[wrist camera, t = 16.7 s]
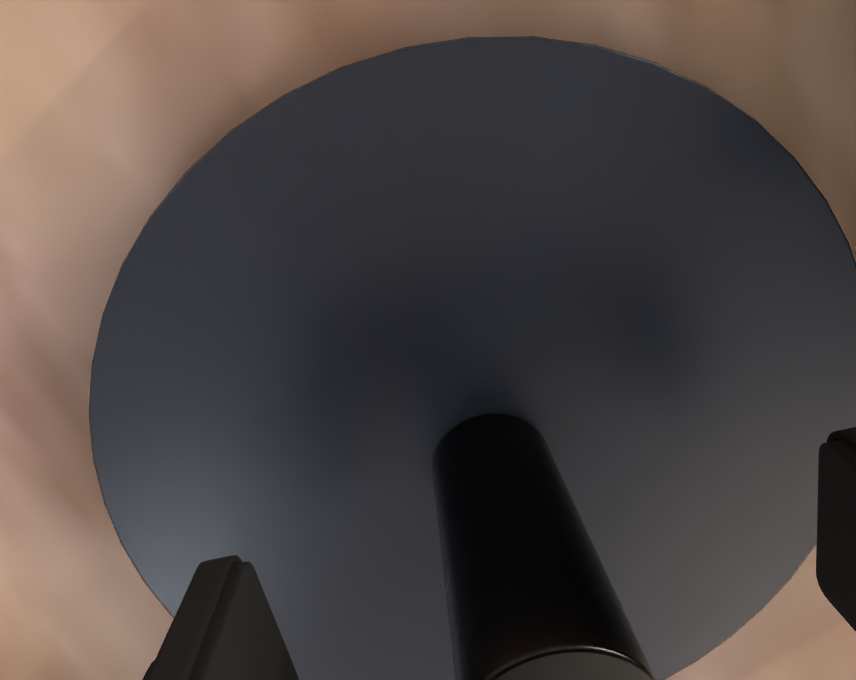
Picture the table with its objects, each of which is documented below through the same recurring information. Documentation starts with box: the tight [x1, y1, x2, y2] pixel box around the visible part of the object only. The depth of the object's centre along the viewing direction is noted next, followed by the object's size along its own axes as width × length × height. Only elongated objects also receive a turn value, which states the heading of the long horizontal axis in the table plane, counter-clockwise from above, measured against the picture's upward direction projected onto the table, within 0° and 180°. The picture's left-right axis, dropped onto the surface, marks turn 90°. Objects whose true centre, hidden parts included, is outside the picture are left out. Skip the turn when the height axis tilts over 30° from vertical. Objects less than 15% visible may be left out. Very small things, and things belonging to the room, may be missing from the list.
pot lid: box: [89, 36, 856, 680], centre depth 10 cm, size 16×16×7 cm
